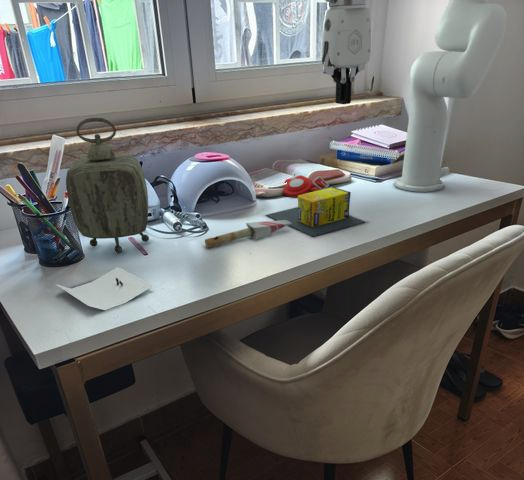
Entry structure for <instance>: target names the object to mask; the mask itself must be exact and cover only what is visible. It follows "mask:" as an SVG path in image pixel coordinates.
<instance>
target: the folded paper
mask: <svg viewBox="0 0 524 480" xmlns="http://www.w3.org/2000/svg"><path fill="white" fill-rule="evenodd" d="M55 285H56V286H57V287H59V288H60V289H62V290H63V291H65V292H66V293H68V294H69V295H71V296H73V297H74V298H75V299H77V300H78V301H80V302H81V303H83V304H85V305H86V306H87V307H91V308H94V309H98V310H102V311H107V310H111V309H113V308H115V307H118V306H121V305H123V304H125V303H127V302H130V301H132V299H134V298H136V297H138V296H140V294H142V293H144V292H146V291H147V290H149V289H150V288H153V287H154V285H153V284H151V283H150V282H148V281H146V280H144V279H142V278H140V277H138V276H137V275H134V274H133V273H131V272H128V271H127V270H124V269H122V268H121V267H119V266H117V267H115V268H113V269H112V270H110V271H108V272H107V273H104V274H103V275H102V276H100V277H98V278H96V279H94V280H92V281H91V282H87V283H85V284H82V285H78V286H75V287H73V288H70V287H67V286H63V285H60V284H56V283H55Z"/></svg>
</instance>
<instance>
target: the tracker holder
mask: <svg viewBox="0 0 524 480" xmlns="http://www.w3.org/2000/svg"><path fill="white" fill-rule="evenodd" d="M286 182H287V185H286V188H284V189H283V191H282V190H281V192H282V194H283V196H286V197H288V198H298V195H302V194H306V193H310V192H314V191H319V190H323V189H327V188H329V186H330V184H329V183H328V182H327V181H325V179H323V178H322V177H321V176H320V175H318V176H316V178H315V179H314V180H311V179H310V178H308V177H307V176H304V175H301V174H300V175H296V176H292V177H290V178H286V179H285V180H284V182H283V184H284V183H286Z"/></svg>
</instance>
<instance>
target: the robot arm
mask: <svg viewBox="0 0 524 480" xmlns="http://www.w3.org/2000/svg"><path fill="white" fill-rule="evenodd" d="M324 1H325V2H326V3H327V9H325V14H324V17H323V18H324V19H323V23H322V33H321V46H320V48H321V49H320V59H321V61H320V62H321V64H322V66H323V67H322V73H323V74H324V75H326V76H331V78H332V80H333V83H335V104H338V105H349V104H351V103H352V87H353V85H352V84H353V83H354V82H355V80H356V79H355V78H356V76H357V75H358V73H360V72H362V71H364V70H366V65H367V64H368V63H370V60H371V55H372V54H371V51H372V26H371V25H372V23H371V22H372V21H371V13H370V12H371V11H370V7H367V0H324ZM489 1H490V0H449V1H448V2H447V4H446V7H445V9H444V11H443V13H442V16H441V18H440V20H439V21H438V24H437V27H436V30H435V34H434V42H435V45H436V46H437V47H438V49H440V50H437V51H436V50H435V51H433V50H432V51H428V52H427V51H426V52H424V53H422V54H420V55H419V56H418V57H417V58H416V59H415V60H414V61H413V63H412V65H411V68H410V71H409V94H410V95H409V96H410V97H409V98H410V99H409V114H408V122H407V131H406V139H405V147H404V154H403V163H402V170H401V171H402V173H401V177H398V178H397V179H395V181H394V186H395V187H397V188H398V189H399V190H403V191H409V192H421V193H422V192H424V193H425V192H427V193H428V192H435V191H439V190H441V189H443V187H444V181H443V180H441V177H442V176H446V175H448V174H449V173H450V168H449V167H448V166H445V167H441V162H442V157H443V150H444V144H445V137H446V131H447V125H448V121H449V118H448V117H449V110H448V106H447V102H446V99H445V98H449V99H467V98H471V97H472V96H473V95H475V93H477V91H478V90H479V89H480V87H481V85H482V83H483V82H484V79H485V77H486V76H487V73H488V71H489V69H490V67H491V66H492V64H493V61H494V59H495V57H496V56H497V54H498V51H499V50H500V47H501V45H502V43H503V40H504V39H505V35H506V31H507V25H508V16H507V12H506V10H505V7H503V6H502V5H500V4H499V3H492V2H489ZM442 50H443V51H442Z"/></svg>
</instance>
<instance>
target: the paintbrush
mask: <svg viewBox="0 0 524 480" xmlns="http://www.w3.org/2000/svg"><path fill="white" fill-rule="evenodd" d="M290 224H292V223H291V222H289V221H287V220H278V221H276V220H266V221H254V222H245V225H246V228H243V229H239V230H235V231H231V232H228V233H223V234H221V235H216V236H214V237H209V238H205V239H204V244H205V246H206V248H209V249H210V248H211V247H215V246H217V245H218V246H219V245H224V244H226V243H231V242H234V241H237V240H241V239H244V238H245V239H246V238H250V239H252V240H253V241H257V240H259V239H261V238H263V237H266V236H268V235H270V234H272V233H274V232H276V231H279V230H281V229H283V228H286V227H289V226H288V225H290Z"/></svg>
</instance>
